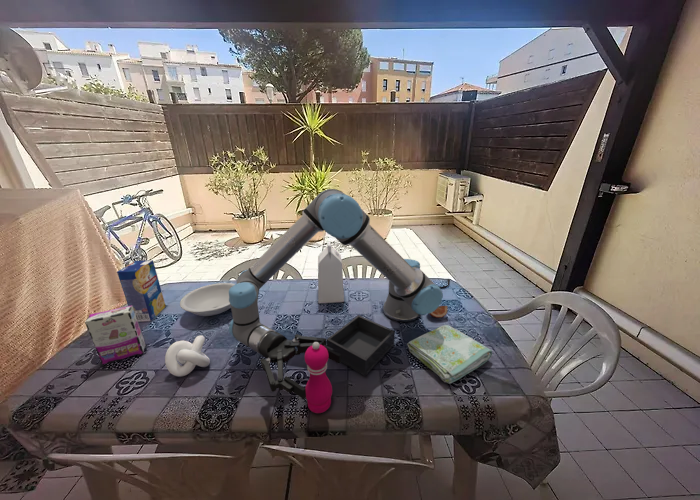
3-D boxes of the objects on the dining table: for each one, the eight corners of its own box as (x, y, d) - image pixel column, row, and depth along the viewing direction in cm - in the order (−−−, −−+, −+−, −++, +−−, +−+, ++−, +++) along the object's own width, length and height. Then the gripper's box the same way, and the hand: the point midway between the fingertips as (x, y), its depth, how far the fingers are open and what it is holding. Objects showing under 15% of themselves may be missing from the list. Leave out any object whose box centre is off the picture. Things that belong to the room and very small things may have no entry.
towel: (404, 350, 92) (405, 338, 90) (447, 330, 102) (449, 319, 100) (446, 389, 77) (449, 375, 76) (492, 361, 87) (495, 348, 86)
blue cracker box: (165, 306, 119) (153, 260, 111) (151, 320, 109) (136, 271, 101) (149, 307, 118) (135, 260, 111) (133, 322, 108) (116, 272, 100)
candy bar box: (146, 344, 95) (133, 304, 90) (143, 353, 91) (130, 312, 86) (105, 355, 91) (89, 313, 85) (101, 365, 86) (83, 321, 81)
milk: (318, 290, 132) (315, 239, 123) (341, 289, 133) (341, 238, 124) (318, 303, 121) (315, 248, 112) (344, 301, 122) (343, 247, 113)
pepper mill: (328, 417, 69) (325, 355, 62) (301, 412, 71) (296, 350, 64) (335, 394, 76) (333, 335, 69) (311, 389, 77) (306, 331, 70)
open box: (358, 328, 104) (358, 315, 102) (394, 345, 95) (394, 330, 93) (327, 354, 91) (326, 339, 89) (365, 376, 82) (365, 360, 80)
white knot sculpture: (183, 353, 91) (177, 331, 88) (220, 351, 92) (215, 329, 89) (164, 379, 81) (156, 355, 78) (205, 377, 81) (199, 353, 78)
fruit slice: (443, 311, 114) (444, 301, 113) (449, 321, 108) (451, 310, 106) (423, 312, 114) (424, 302, 112) (428, 321, 108) (430, 311, 106)
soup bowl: (251, 313, 114) (249, 299, 111) (186, 333, 101) (182, 318, 99) (237, 290, 132) (235, 278, 130) (181, 305, 120) (177, 292, 117)
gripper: (299, 331, 91) (351, 358, 79) (232, 380, 72) (287, 424, 60) (298, 312, 88) (351, 336, 77) (227, 358, 69) (284, 399, 57)
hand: (323, 375), depth 68 cm, fingers open, 13 cm apart
